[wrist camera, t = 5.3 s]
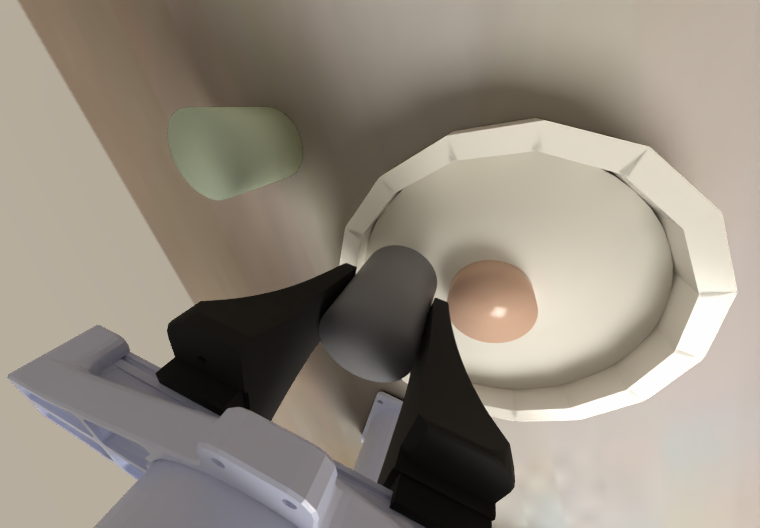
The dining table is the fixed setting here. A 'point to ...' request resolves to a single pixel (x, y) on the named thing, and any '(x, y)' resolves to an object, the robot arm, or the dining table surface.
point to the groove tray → (557, 263)
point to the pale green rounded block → (233, 148)
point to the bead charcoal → (381, 315)
